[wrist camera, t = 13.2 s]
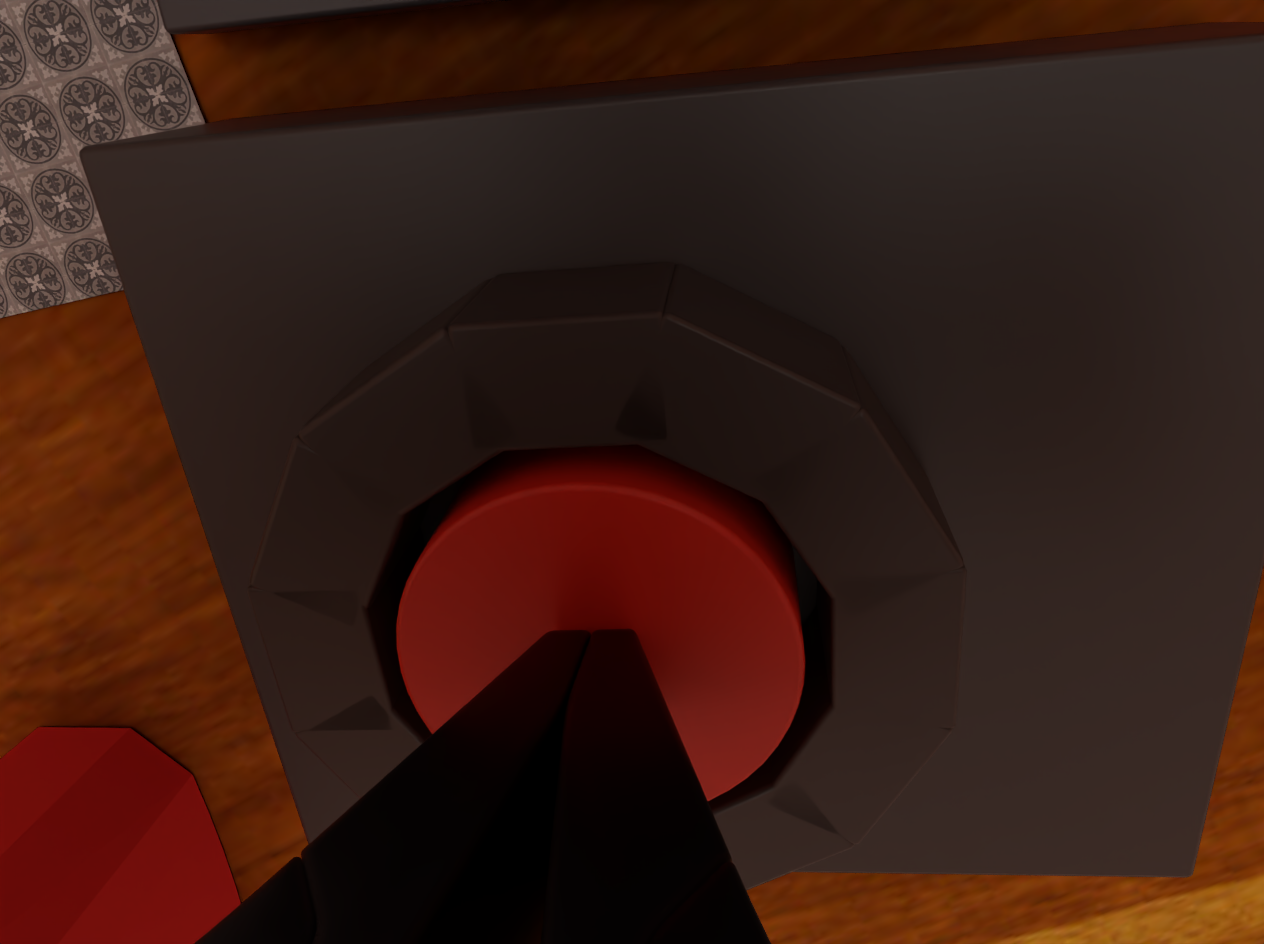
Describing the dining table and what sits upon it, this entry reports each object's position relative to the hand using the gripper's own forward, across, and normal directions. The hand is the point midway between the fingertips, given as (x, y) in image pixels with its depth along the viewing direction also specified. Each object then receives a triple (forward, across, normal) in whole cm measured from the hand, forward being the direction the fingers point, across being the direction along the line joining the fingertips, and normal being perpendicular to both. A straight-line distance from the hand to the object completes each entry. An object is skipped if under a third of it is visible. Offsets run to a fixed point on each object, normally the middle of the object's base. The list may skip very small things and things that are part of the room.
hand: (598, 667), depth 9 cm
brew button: (+2, 0, 0) cm, 2 cm away
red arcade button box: (+5, -1, 0) cm, 5 cm away
